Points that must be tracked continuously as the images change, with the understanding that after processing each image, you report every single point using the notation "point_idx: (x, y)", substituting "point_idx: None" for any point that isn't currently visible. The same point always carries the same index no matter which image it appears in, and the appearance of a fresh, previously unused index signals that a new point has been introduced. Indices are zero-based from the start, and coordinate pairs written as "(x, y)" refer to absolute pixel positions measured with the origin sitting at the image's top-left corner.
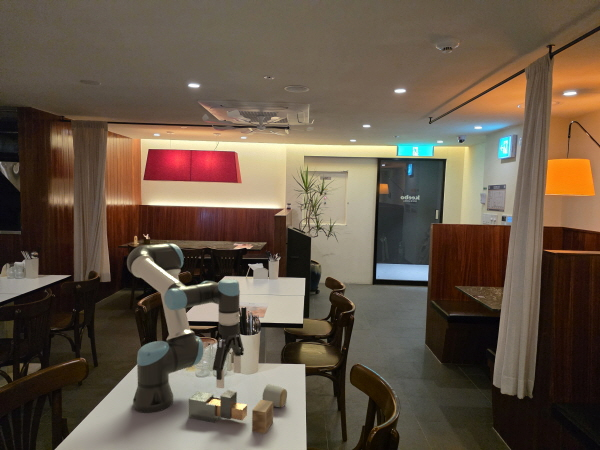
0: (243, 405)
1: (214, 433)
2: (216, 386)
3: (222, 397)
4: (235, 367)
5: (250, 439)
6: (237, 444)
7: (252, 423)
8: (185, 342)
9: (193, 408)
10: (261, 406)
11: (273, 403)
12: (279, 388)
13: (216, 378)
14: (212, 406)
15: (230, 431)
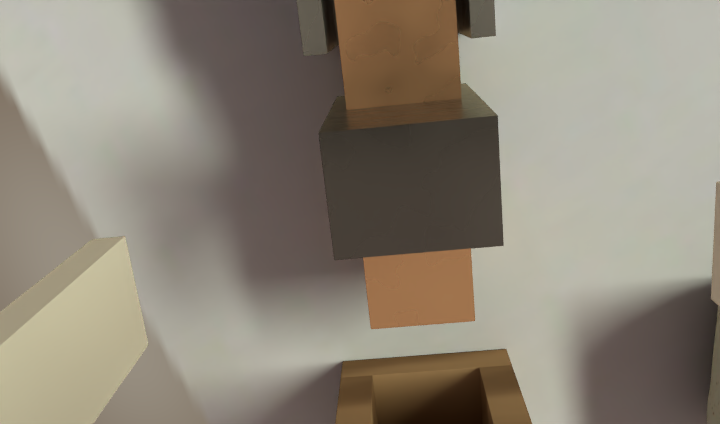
0: (446, 300)
1: (193, 135)
2: (85, 245)
3: (322, 158)
4: None
5: (253, 393)
6: (164, 348)
7: (340, 395)
8: None
9: None
10: None
11: (710, 394)
12: None
13: (20, 298)
14: (302, 27)
15: (272, 228)
